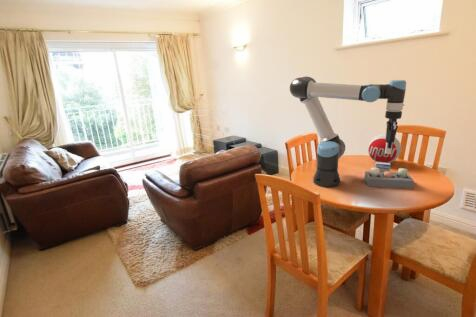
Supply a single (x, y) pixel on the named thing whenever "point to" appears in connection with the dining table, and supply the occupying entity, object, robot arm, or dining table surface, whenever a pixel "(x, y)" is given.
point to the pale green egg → (402, 172)
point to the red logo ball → (383, 149)
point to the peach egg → (388, 174)
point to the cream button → (374, 171)
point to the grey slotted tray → (388, 180)
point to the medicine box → (383, 166)
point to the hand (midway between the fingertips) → (387, 153)
